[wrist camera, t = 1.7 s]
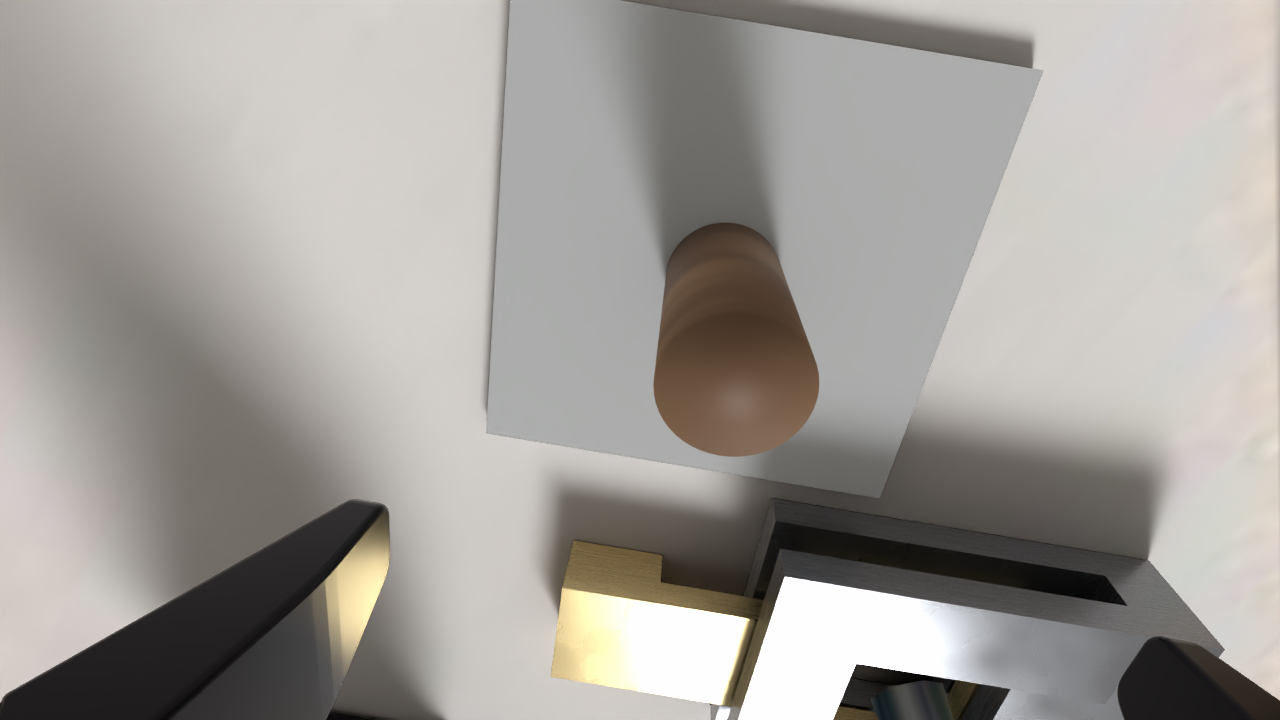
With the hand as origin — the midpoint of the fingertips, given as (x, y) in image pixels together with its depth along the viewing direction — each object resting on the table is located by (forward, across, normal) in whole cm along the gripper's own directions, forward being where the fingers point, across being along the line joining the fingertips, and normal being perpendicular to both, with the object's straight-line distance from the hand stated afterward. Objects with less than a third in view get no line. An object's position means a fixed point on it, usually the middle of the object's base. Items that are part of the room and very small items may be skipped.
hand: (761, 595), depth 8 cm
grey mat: (+12, 0, 0) cm, 12 cm away
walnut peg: (+11, 0, 0) cm, 11 cm away
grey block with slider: (+11, -6, +12) cm, 18 cm away
